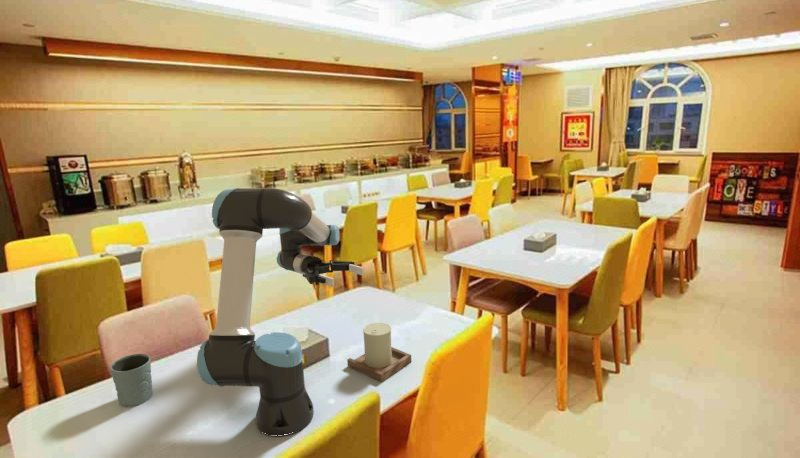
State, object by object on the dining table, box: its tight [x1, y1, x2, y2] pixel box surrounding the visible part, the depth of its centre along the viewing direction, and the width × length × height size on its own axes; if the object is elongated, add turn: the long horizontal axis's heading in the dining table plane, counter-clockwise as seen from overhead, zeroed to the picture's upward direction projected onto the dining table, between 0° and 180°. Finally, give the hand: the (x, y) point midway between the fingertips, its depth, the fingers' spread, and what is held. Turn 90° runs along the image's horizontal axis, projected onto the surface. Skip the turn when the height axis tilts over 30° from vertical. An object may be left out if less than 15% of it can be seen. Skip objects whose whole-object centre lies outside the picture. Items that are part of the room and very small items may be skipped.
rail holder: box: [346, 346, 412, 383], centre depth 143 cm, size 15×15×2 cm
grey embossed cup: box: [109, 353, 154, 408], centre depth 128 cm, size 10×10×12 cm
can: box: [362, 322, 392, 368], centre depth 142 cm, size 9×9×12 cm
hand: (348, 276), depth 145 cm, fingers open, 13 cm apart
